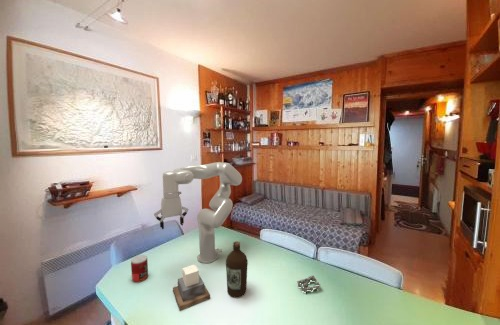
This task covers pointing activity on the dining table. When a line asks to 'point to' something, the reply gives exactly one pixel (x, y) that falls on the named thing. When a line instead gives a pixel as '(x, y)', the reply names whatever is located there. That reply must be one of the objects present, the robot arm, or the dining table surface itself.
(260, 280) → the dining table surface
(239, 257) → the olive oil
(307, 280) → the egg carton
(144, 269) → the canned food
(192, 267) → the cream cube
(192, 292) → the pedestal
